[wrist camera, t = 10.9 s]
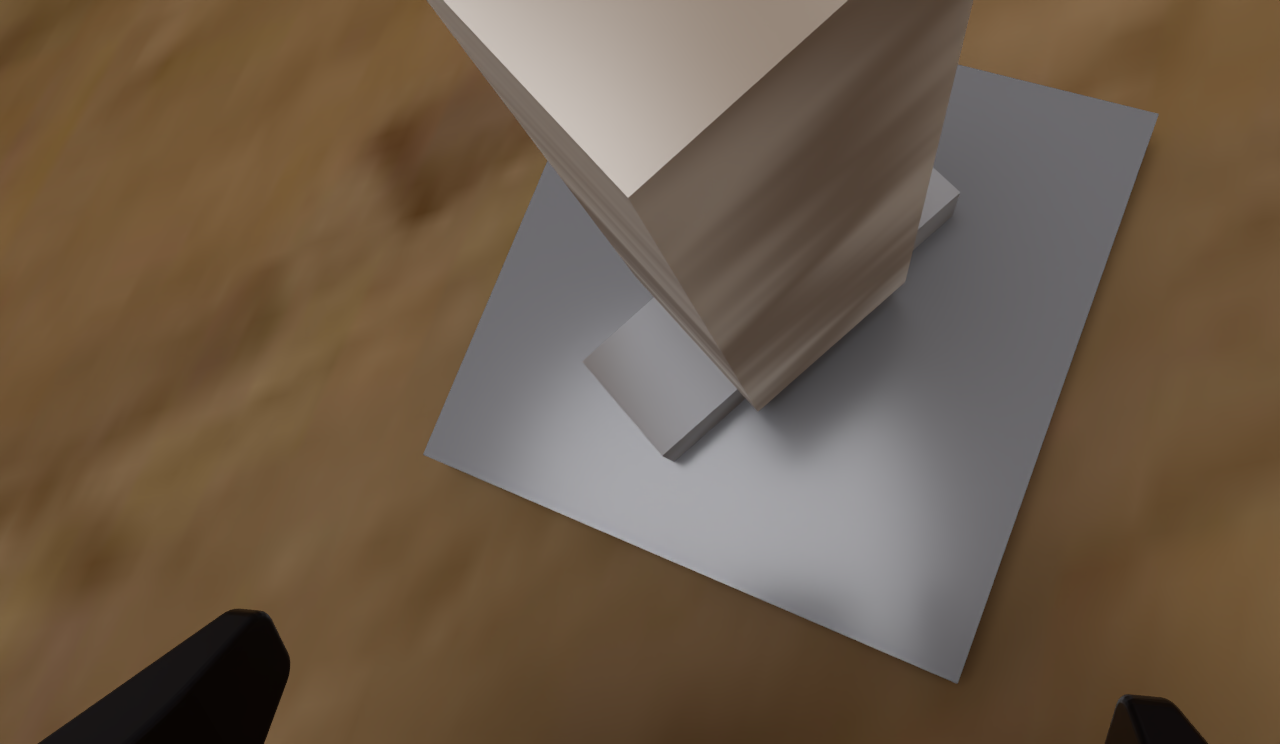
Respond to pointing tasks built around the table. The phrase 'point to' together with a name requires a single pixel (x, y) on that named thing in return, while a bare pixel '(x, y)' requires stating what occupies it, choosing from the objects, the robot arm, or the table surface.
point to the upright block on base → (732, 172)
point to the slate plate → (829, 388)
